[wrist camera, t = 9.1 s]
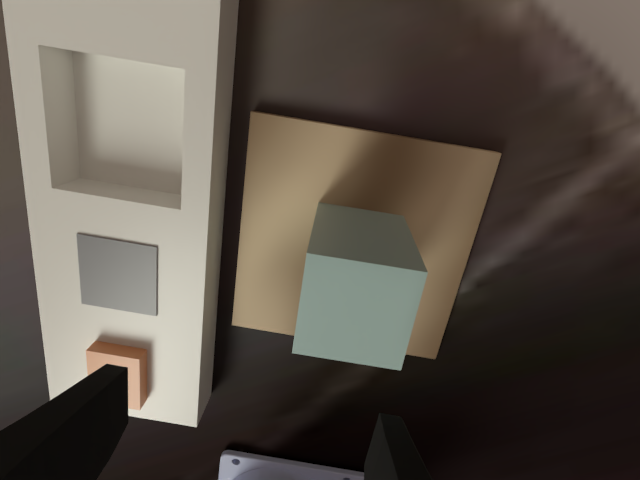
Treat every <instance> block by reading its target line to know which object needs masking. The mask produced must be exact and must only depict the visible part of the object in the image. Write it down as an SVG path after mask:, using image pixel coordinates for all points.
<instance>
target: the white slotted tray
mask: <svg viewBox="0 0 640 480" xmlns="http://www.w3.org/2000/svg"><path fill="white" fill-rule="evenodd" d="M2 5H3V14H4V22H5V30H6V38H7V47H8V55H9V63H10V71H11V80H12V88H13V96H14V105H15V113H16V121H17V129H18V138H19V146H20V154H21V163H22V171H23V179H24V187H25V196H26V204H27V212H28V220H29V229H30V237H31V245H32V254H33V262H34V270H35V278H36V287H37V295H38V303H39V312H40V320H41V328H42V336H43V345H44V353H45V361H46V370H47V378H48V386H49V394H50V400H52V399H53V398H55V397H56V396H58V395H59V394H61V393H62V392H64V391H65V390H67V389H68V388H70V387H72V386H73V385H75V384H76V383H78V382H79V381H81V380H82V379H84V378H85V377H87V376H88V375H90V374H91V373H93V372H94V371H96V370H98V369H99V368H101V367H102V366H104V365H105V364H111V365H117V366H122V367H128V416H133V417H139V418H145V419H151V420H157V421H163V422H169V423H175V424H181V425H187V426H193V427H197V426H198V423H199V421H200V419H201V416H202V414H203V412H204V409H205V407H206V405H207V402H208V400H209V398H210V396H211V390H212V376H213V362H214V348H215V334H216V319H217V305H218V291H219V277H220V263H221V249H222V234H223V220H224V206H225V192H226V178H227V164H228V149H229V135H230V121H231V107H232V93H233V79H234V64H235V50H236V36H237V22H238V8H239V0H2Z"/></svg>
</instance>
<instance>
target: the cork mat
mask: <svg viewBox="0 0 640 480" xmlns="http://www.w3.org/2000/svg"><path fill="white" fill-rule="evenodd" d="M500 158H501V153H499V152H496V151H490V150H484V149H478V148H473V147H467V146H461V145H455V144H449V143H443V142H437V141H431V140H425V139H419V138H413V137H407V136H401V135H395V134H389V133H383V132H378V131H372V130H366V129H360V128H354V127H348V126H342V125H336V124H330V123H324V122H318V121H312V120H306V119H300V118H294V117H289V116H283V115H277V114H271V113H265V112H259V111H251V113H250V125H249V136H248V147H247V159H246V170H245V181H244V193H243V204H242V216H241V227H240V238H239V250H238V261H237V273H236V284H235V295H234V307H233V318H232V325H235V326H241V327H247V328H252V329H258V330H264V331H270V332H276V333H282V334H288V335H295V328H296V322H297V315H298V308H299V301H300V294H301V288H302V281H303V274H304V267H305V260H306V254H307V249H308V245H309V241H310V236H311V232H312V228H313V223H314V219H315V215H316V211H317V206H318V202H321V203H327V204H334V205H340V206H346V207H352V208H359V209H365V210H371V211H377V212H384V213H390V214H396V215H402V216H404V218H405V220H406V222H407V225H408V227H409V229H410V232H411V234H412V236H413V239H414V241H415V243H416V246H417V248H418V250H419V253H420V255H421V257H422V260H423V262H424V264H425V267H426V269H427V271H428V274H427V278H426V282H425V285H424V289H423V292H422V296H421V300H420V303H419V307H418V311H417V314H416V318H415V321H414V325H413V329H412V332H411V336H410V340H409V343H408V347H407V351H406V354H407V355H413V356H419V357H425V358H431V359H436V356H437V353H438V350H439V347H440V344H441V340H442V337H443V334H444V331H445V328H446V325H447V322H448V319H449V316H450V313H451V309H452V306H453V303H454V300H455V297H456V294H457V291H458V288H459V285H460V282H461V278H462V275H463V272H464V269H465V266H466V263H467V260H468V257H469V254H470V251H471V247H472V244H473V241H474V238H475V235H476V232H477V229H478V226H479V223H480V220H481V216H482V213H483V210H484V207H485V204H486V201H487V198H488V195H489V192H490V189H491V185H492V182H493V179H494V176H495V173H496V170H497V167H498V164H499V161H500Z"/></svg>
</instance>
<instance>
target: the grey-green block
mask: <svg viewBox="0 0 640 480" xmlns="http://www.w3.org/2000/svg"><path fill="white" fill-rule="evenodd" d="M427 274H428V271H427V269H426V267H425V264H424V262H423V260H422V257H421V255H420V253H419V250H418V248H417V246H416V243H415V241H414V239H413V236H412V234H411V232H410V229H409V227H408V225H407V222H406V220H405V218H404V216H402V215H396V214H390V213H384V212H377V211H371V210H365V209H359V208H352V207H346V206H340V205H334V204H327V203H321V202H318V206H317V211H316V215H315V219H314V223H313V228H312V232H311V236H310V241H309V245H308V249H307V254H306V260H305V267H304V274H303V281H302V288H301V294H300V301H299V308H298V315H297V322H296V328H295V335H294V342H293V349H292V353H294V354H301V355H307V356H313V357H319V358H325V359H332V360H338V361H344V362H350V363H357V364H363V365H369V366H375V367H381V368H388V369H394V370H400V371H401V369H402V365H403V361H404V358H405V354H406V351H407V347H408V343H409V340H410V336H411V332H412V329H413V325H414V321H415V318H416V314H417V311H418V307H419V303H420V300H421V296H422V292H423V289H424V285H425V282H426V278H427Z"/></svg>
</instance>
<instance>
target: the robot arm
mask: <svg viewBox="0 0 640 480" xmlns="http://www.w3.org/2000/svg"><path fill="white" fill-rule="evenodd" d="M127 424H128V367H122V366H117V365H111V364H105V365H104V366H102V367H101V368H99V369H98V370H96V371H94V372H93V373H91V374H90V375H88V376H87V377H85V378H84V379H82V380H81V381H79V382H78V383H76V384H75V385H73V386H72V387H70V388H68V389H67V390H65V391H64V392H62V393H61V394H59V395H58V396H56V397H55V398H53V399H52V400H50V401H48V402H47V403H45V404H44V405H42V406H41V407H39V408H37V409H36V410H34V411H33V412H31V413H29V414H28V415H26V416H25V417H23V418H21V419H20V420H18V421H16V422H15V423H13V424H11V425H9V426H8V427H6V428H4V429H3V430H1V431H0V480H96V479H97V478H98V476H99V475H100V473H101V472H102V470H103V468H104V467H105V465H106V464H107V462H108V461H109V459H110V457H111V455H112V453H113V452H114V450H115V448H116V446H117V444H118V442H119V440H120V438H121V436H122V434H123V432H124V430H125V428H126V426H127ZM218 480H433V479H432V477H431V475H430V473H429V472H428V470H427V468H426V466H425V464H424V462H423V460H422V458H421V456H420V454H419V452H418V450H417V448H416V446H415V444H414V442H413V440H412V438H411V436H410V434H409V431H408V429H407V427H406V425H405V423H404V421H403V419H402V418H401V416H395V415H390V414H384V413H379V416H378V419H377V422H376V426H375V429H374V433H373V436H372V440H371V443H370V446H369V450H368V453H367V457H366V460H365V463H364V472H358V471H352V470H346V469H340V468H334V467H329V466H323V465H317V464H311V463H305V462H299V461H293V460H287V459H281V458H275V457H269V456H263V455H257V454H251V453H245V452H239V451H233V450H225V451H224V452H222V455H221V458H220V468H219V479H218Z"/></svg>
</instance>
